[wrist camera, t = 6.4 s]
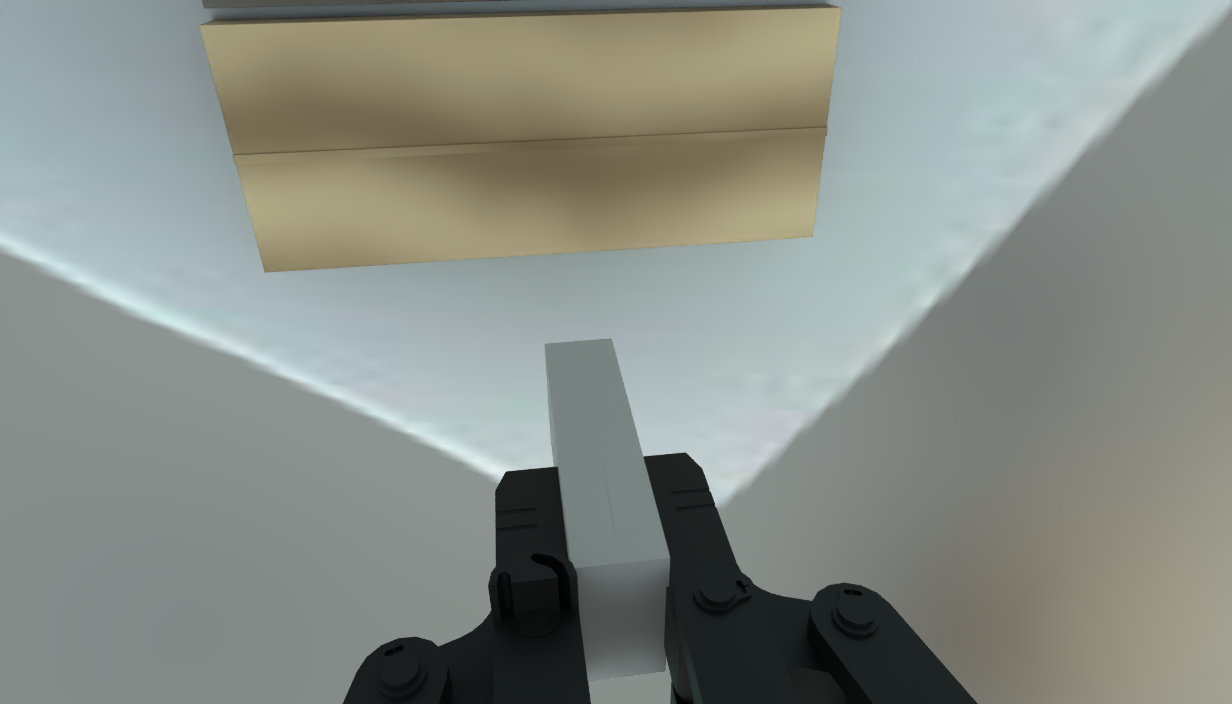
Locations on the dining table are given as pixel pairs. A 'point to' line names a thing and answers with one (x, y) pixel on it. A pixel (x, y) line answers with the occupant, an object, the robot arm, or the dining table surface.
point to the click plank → (524, 130)
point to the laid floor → (311, 2)
